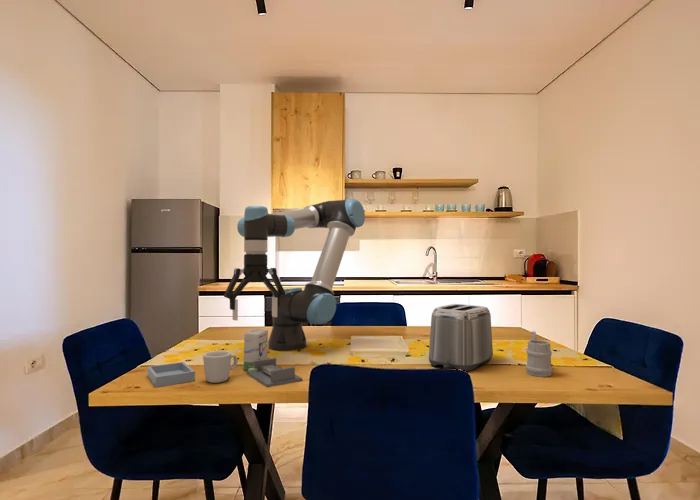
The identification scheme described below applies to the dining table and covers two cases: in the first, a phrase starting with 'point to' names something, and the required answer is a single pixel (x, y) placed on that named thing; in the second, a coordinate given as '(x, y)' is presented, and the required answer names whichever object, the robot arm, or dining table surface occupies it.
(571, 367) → the dining table surface
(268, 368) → the checker pad
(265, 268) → the robot arm
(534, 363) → the mug
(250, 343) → the ink box
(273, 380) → the cradle
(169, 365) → the trough
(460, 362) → the toaster
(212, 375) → the cup
